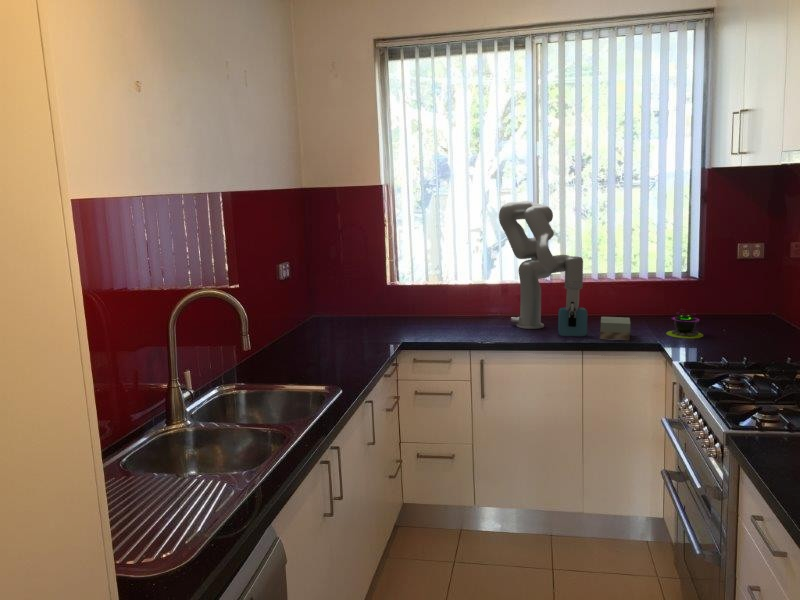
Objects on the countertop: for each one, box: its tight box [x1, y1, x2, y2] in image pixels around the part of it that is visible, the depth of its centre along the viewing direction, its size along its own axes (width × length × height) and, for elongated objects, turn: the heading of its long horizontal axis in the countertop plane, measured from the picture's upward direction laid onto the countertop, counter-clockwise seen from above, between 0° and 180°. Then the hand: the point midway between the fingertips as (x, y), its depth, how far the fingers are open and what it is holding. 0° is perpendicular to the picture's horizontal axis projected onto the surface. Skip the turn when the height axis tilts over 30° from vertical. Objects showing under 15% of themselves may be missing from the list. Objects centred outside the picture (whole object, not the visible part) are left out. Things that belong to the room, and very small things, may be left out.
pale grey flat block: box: [599, 316, 631, 334], centre depth 287 cm, size 12×13×4 cm
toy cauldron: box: [665, 308, 704, 339], centre depth 289 cm, size 15×15×11 cm
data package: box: [557, 307, 588, 337], centre depth 293 cm, size 12×4×12 cm, turn 81°
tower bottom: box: [599, 328, 631, 340], centre depth 288 cm, size 12×13×4 cm
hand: (572, 324), depth 293 cm, fingers open, 6 cm apart
